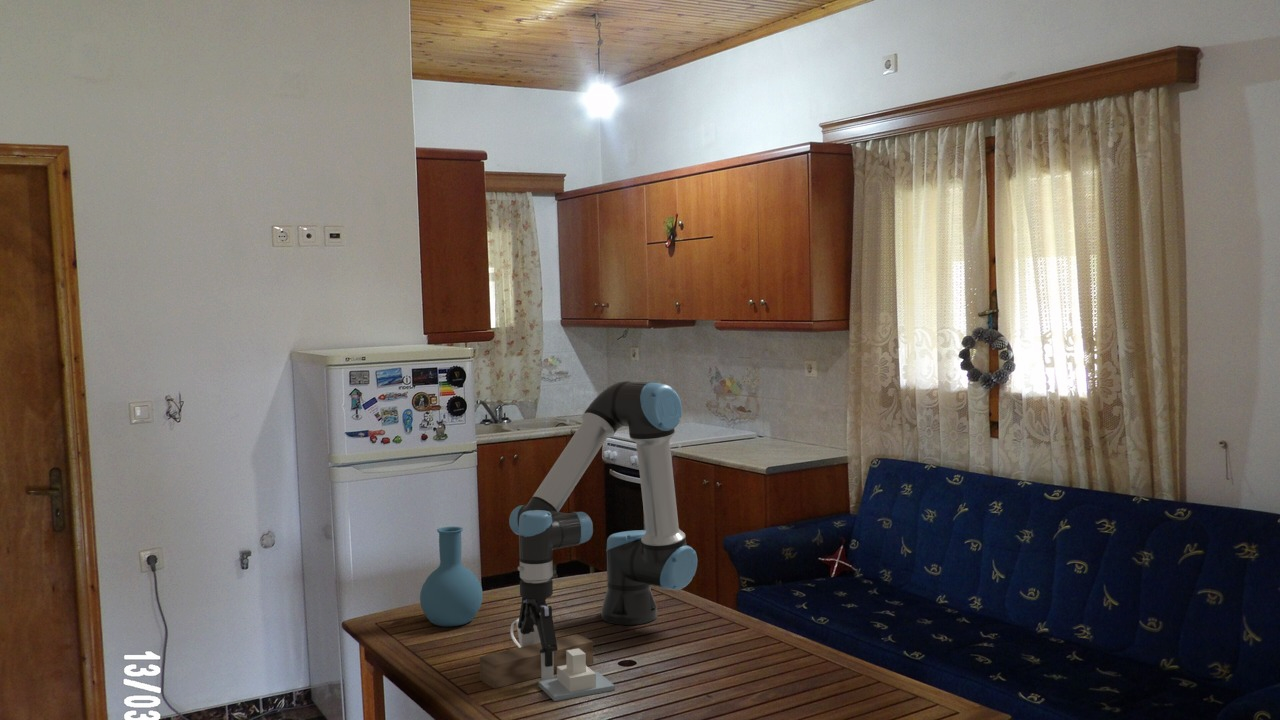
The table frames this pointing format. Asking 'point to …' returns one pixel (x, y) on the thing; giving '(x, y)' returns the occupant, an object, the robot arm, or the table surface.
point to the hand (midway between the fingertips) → (537, 670)
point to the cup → (535, 634)
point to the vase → (451, 585)
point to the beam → (528, 661)
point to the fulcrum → (575, 679)
